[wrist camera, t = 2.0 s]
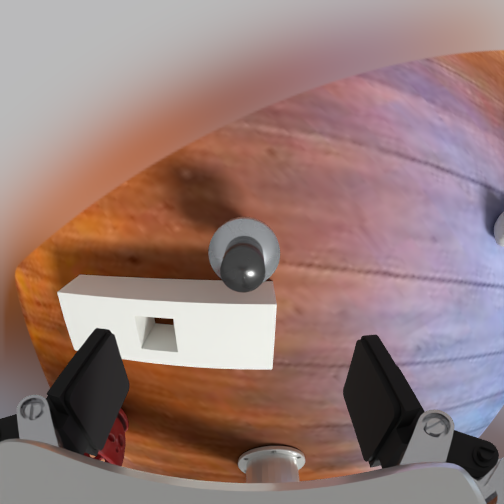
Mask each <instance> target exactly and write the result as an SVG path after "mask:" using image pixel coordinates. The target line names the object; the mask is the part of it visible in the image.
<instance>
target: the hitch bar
mask: <svg viewBox="0 0 504 504" xmlns="http://www.w3.org/2000/svg"><path fill="white" fill-rule="evenodd" d="M57 293H58V297H59V301H60V305H61V308H62V312H63V315H64V319H65V322H66V326H67V329H68V332H69V335H70V338H71V341H72V344H73V347H74V350H76V351H78V350H79V349H80V347H81V346H82V345H83V343H84V342H85V341H86V340H87V338H88V337H89V336H90V335H91V333H92V332H93V331H94V329H96V328H101V329H109V330H110V331H111V333H112V334H114V335H115V338H116V341H117V345H118V348H119V352H120V355H121V359H126V360H133V361H141V362H149V363H157V364H167V365H177V366H189V367H203V368H222V369H272V366H273V352H274V338H275V323H276V307H277V304H276V298H275V292H274V286H273V281H264V282H262V284H261V285H260V286H259V287H258V288H256V289H255V290H253V291H250V292H244V293H242V292H236V291H233V290H231V289H230V288H228V287H227V286H226V285H225V284H224V282H223V281H222V280H187V279H159V278H135V277H115V276H97V275H79V276H77V277H76V278H75V279H73V280H72V281H71V282H70V283H68V284H67V285H66V286H64V287H63V288H62V289H61V290H59V291H58V292H57ZM154 317H155V318H170V319H173V320H174V325H170V324H156V323H155V319H154Z"/></svg>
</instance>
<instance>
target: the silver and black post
mask: <svg viewBox="0 0 504 504" xmlns="http://www.w3.org/2000/svg"><path fill="white" fill-rule="evenodd" d="M279 259H280V248H279V244H278V240H277V238H276V236H275V234H274V232H273V231H272V229H271V228H270V227H269V226H268V225H267V224H265V223H264V222H262V221H260V220H258V219H255V218H251V217H237V218H233V219H231V220H229V221H227V222H225V223H224V224H222V225H221V226H220V227H219V228H218V229H217V231H216V232H215V234H214V235H213V237H212V239H211V242H210V245H209V260H210V264H211V266H212V268H213V270H214V272H215V273H216V274H217V275H218V276H219V277H220V278H221V279H222V281H223V282H224V284H225V285H226V286H227V287H228V288H230V289H231V290H233V291H236V292H242V293H244V292H250V291H253V290H255V289H256V288H258V287H259V286H260V285H261V284H262V282H264V281H266V280H267V279H268V278H269V277H270V276H271V275H272V274H273V273H274V272H275V270H276V268H277V266H278V263H279Z"/></svg>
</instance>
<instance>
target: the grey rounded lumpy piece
mask: <svg viewBox="0 0 504 504" xmlns="http://www.w3.org/2000/svg"><path fill="white" fill-rule="evenodd" d="M494 236H495V240H496V243H497V244H498V245H500V246H502V247H504V212H503V213H502V214H501V215H500V216H499V217H498V219H497V221H496V222H495V225H494Z"/></svg>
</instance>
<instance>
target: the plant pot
mask: <svg viewBox="0 0 504 504" xmlns="http://www.w3.org/2000/svg"><path fill="white" fill-rule="evenodd" d="M128 427H129V422H128V419H127V416H126V414H125V413H124V411H123V410H122V409H121V408H120V411H119V413H118V415H117V417H116V420H115V422H114V424H113V427H112V429H111V431H110V434H109V436H108V438H107V441H106V443H105V446H104V448H103V450H101V451H100V450H99V452H98V454H97V456H96V457H95V458H93V459H97V460H101V459H105V462H107V463H110V464H114V465H118V466H122V463H123V459H124V452H125V432H126V431H127V429H128ZM84 456H87V457H90V456H89V454H88V453H84ZM90 458H92V457H90Z"/></svg>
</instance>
